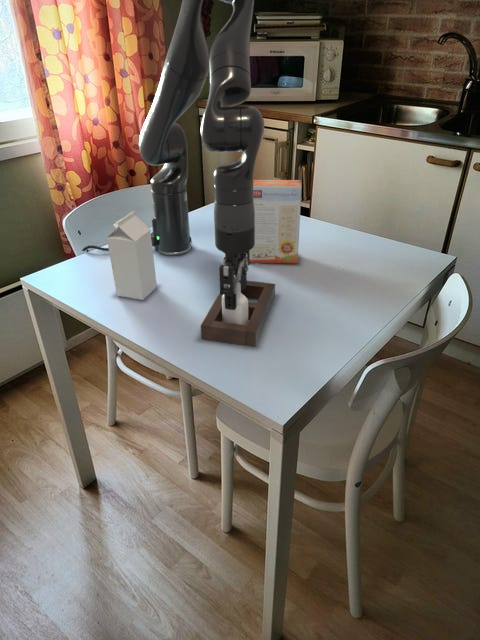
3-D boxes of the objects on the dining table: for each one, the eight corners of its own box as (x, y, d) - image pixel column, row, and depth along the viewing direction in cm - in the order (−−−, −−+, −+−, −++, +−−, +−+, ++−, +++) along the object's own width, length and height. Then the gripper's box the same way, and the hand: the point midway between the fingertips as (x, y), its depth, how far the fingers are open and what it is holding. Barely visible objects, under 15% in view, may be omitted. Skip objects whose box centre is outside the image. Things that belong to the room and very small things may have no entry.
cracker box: (297, 255, 132) (302, 179, 121) (297, 264, 127) (302, 186, 116) (246, 253, 133) (246, 177, 122) (244, 263, 128) (244, 185, 117)
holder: (201, 339, 99) (200, 325, 97) (228, 291, 116) (227, 278, 114) (255, 347, 96) (255, 332, 94) (274, 296, 113) (275, 283, 111)
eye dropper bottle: (231, 337, 99) (230, 286, 93) (220, 324, 104) (218, 274, 97) (250, 331, 101) (250, 281, 94) (238, 318, 105) (238, 269, 99)
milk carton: (157, 286, 118) (148, 212, 107) (143, 301, 112) (132, 223, 102) (131, 282, 120) (120, 209, 109) (116, 296, 114) (103, 220, 104)
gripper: (225, 208, 96) (227, 280, 105) (203, 235, 84) (208, 314, 93) (262, 211, 94) (261, 283, 103) (245, 239, 83) (245, 318, 92)
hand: (236, 298), depth 98 cm, fingers open, 8 cm apart
